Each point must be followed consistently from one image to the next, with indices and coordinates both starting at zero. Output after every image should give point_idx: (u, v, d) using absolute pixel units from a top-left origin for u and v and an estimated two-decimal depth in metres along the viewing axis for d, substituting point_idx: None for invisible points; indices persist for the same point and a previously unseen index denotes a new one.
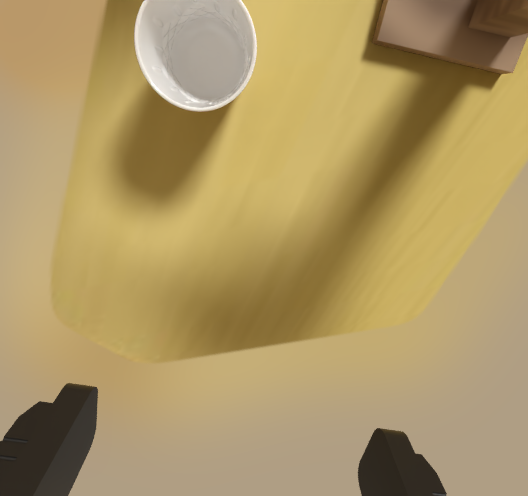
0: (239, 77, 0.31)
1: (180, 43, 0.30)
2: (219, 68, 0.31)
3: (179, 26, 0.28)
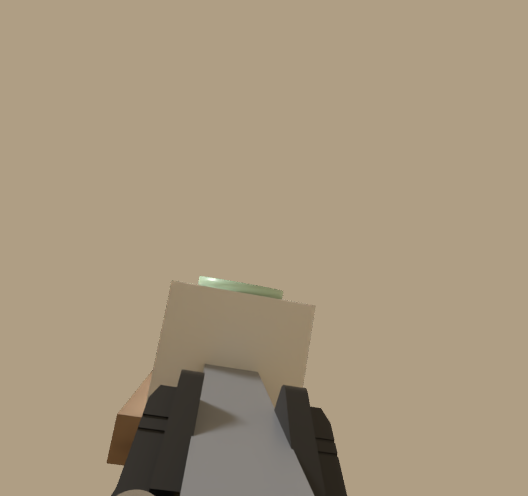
0: None
1: None
2: None
3: None
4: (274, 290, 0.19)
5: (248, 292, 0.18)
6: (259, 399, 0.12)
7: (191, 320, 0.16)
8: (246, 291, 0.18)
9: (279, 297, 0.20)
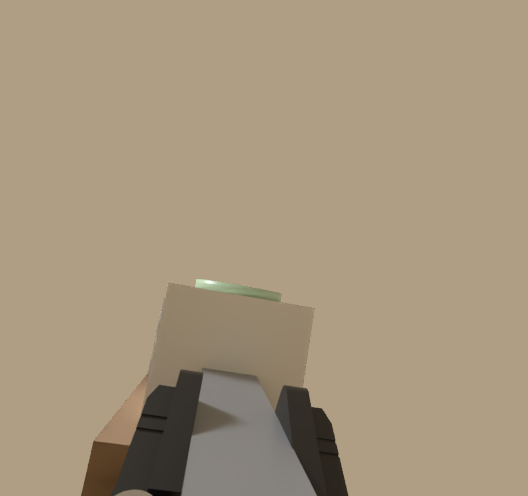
0: None
1: None
2: None
3: None
4: (272, 293, 0.19)
5: (246, 295, 0.18)
6: (258, 403, 0.12)
7: (188, 323, 0.16)
8: (244, 294, 0.18)
9: (277, 300, 0.20)
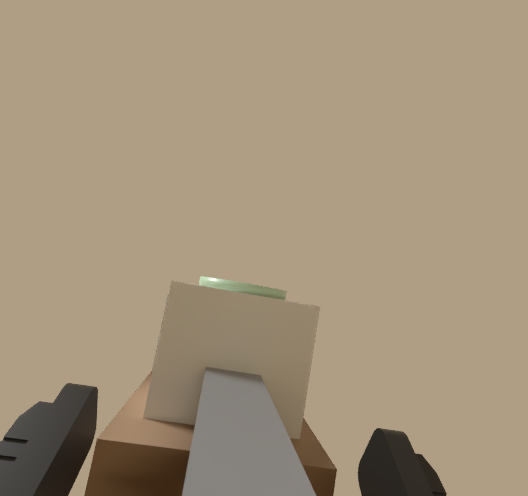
0: None
1: None
2: None
3: None
4: (277, 290, 0.19)
5: (250, 292, 0.18)
6: (262, 405, 0.12)
7: (192, 321, 0.16)
8: (248, 291, 0.18)
9: (282, 298, 0.19)
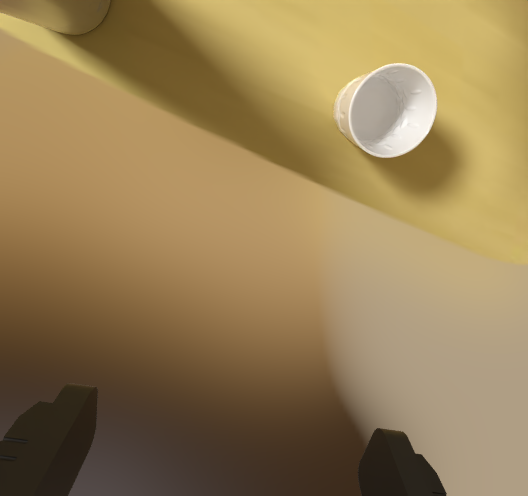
0: (383, 84, 0.38)
1: None
2: (372, 101, 0.39)
3: None
4: None
5: None
6: None
7: None
8: None
9: None
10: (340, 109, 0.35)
